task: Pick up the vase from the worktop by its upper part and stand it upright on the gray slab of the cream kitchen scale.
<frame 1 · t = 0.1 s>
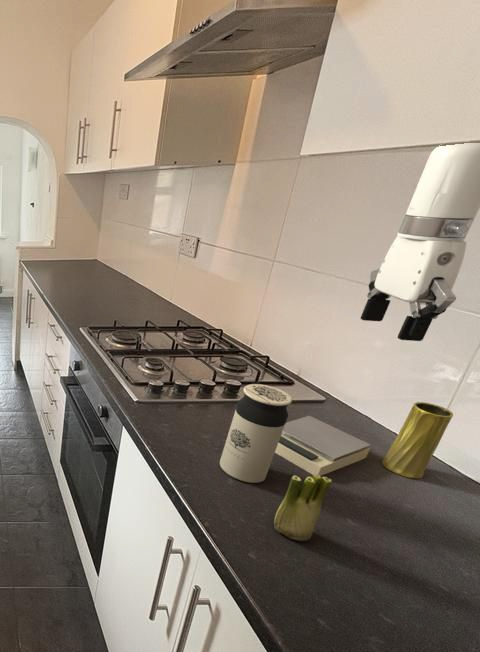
hand: (388, 329, 72), 30 cm above the worktop, tool pointing down, fingers open, 9 cm apart
vase: (401, 469, 84), on the worktop
fennel bulb: (289, 533, 70), on the worktop
travel mug: (241, 471, 84), on the worktop
gray slab: (320, 436, 89), point 3 cm above the worktop, slide at 0.0 cm
scale: (310, 450, 90), on the worktop
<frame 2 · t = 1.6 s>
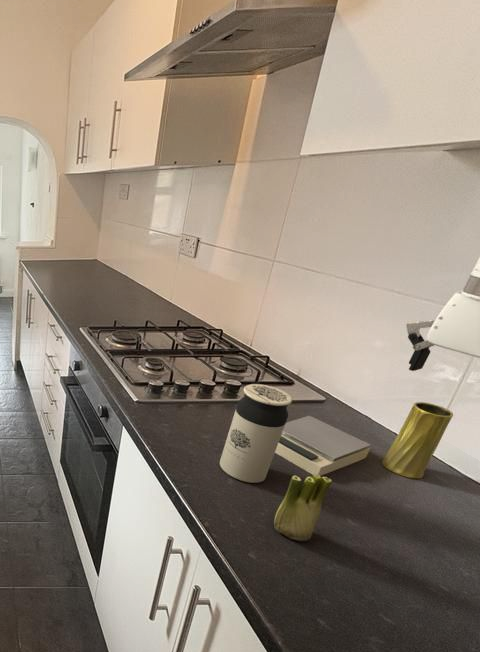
hand: (448, 380, 76), 20 cm above the worktop, tool pointing down, fingers open, 9 cm apart
nothing on the worktop moved.
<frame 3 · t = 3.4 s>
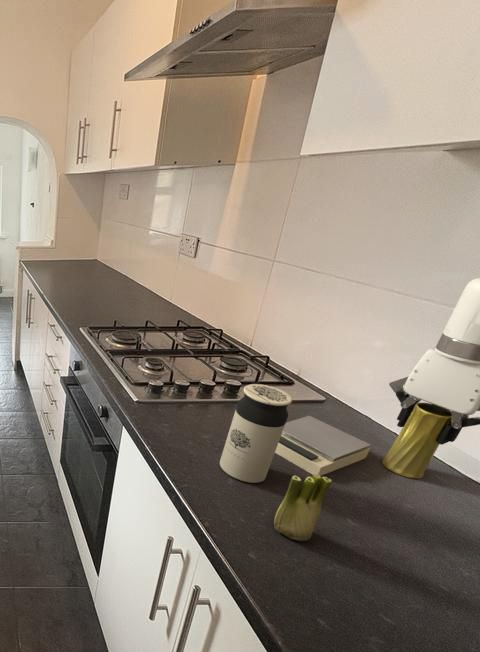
hand: (422, 432, 81), 9 cm above the worktop, tool pointing down, fingers closed on vase, 5 cm apart
vase: (401, 469, 84), on the worktop, touching gripper
everything else where it was.
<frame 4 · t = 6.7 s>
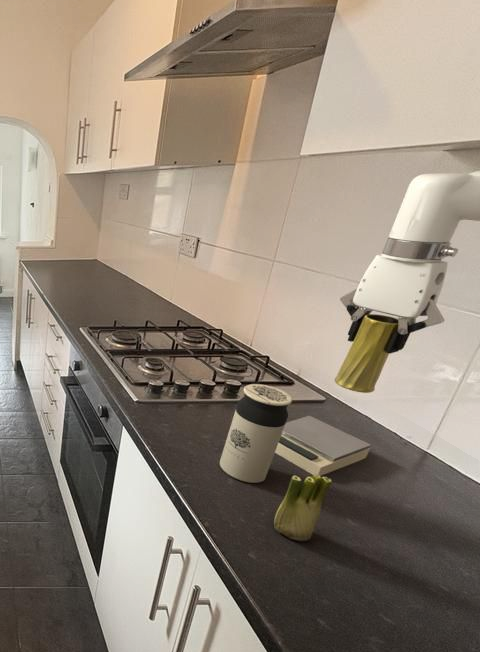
hand: (372, 345, 79), 25 cm above the worktop, tool pointing down, fingers closed on vase, 5 cm apart
vase: (353, 386, 83), point 16 cm above the worktop, touching gripper
everything else where it was.
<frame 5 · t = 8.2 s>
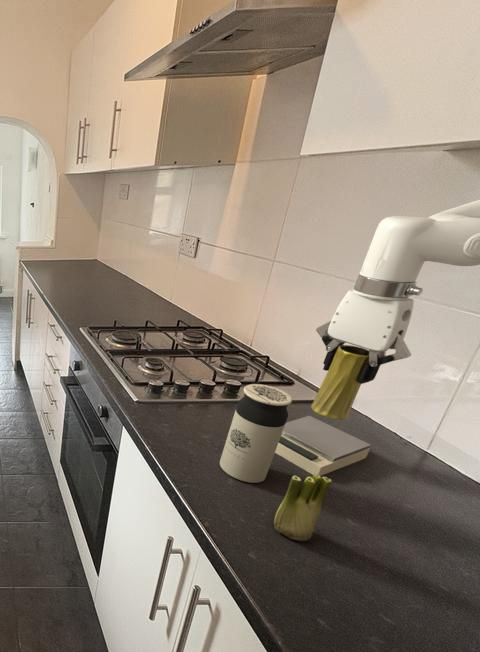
hand: (346, 374, 83), 18 cm above the worktop, tool pointing down, fingers closed on vase, 5 cm apart
vase: (328, 413, 87), point 9 cm above the worktop, touching gripper
everything else where it was.
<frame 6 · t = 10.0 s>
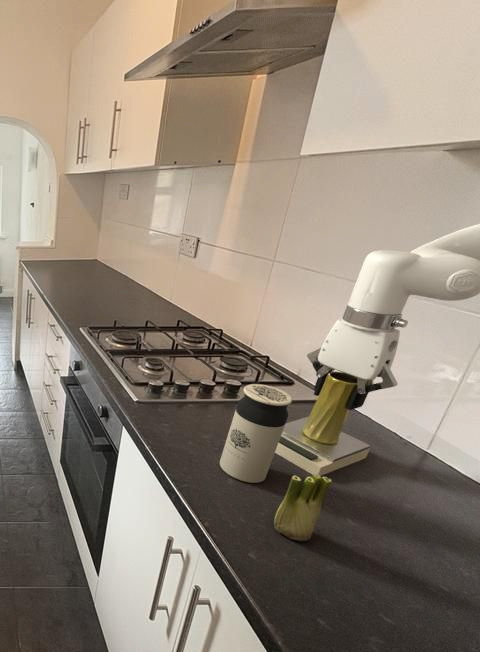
hand: (335, 400, 85), 12 cm above the worktop, tool pointing down, fingers closed on vase, 5 cm apart
vase: (319, 436, 89), point 3 cm above the worktop, touching gripper, gray slab
gray slab: (319, 437, 89), point 3 cm above the worktop, slide at -0.2 cm, touching vase
everything else where it was.
when the fingers open (12 cm above the worktop, at t = 10.0 s): vase stays where it is, resting on gray slab.
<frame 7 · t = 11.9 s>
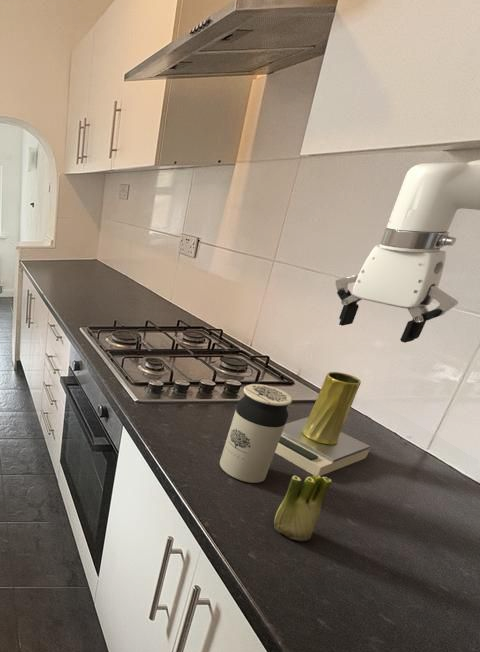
hand: (374, 332, 79), 28 cm above the worktop, tool pointing down, fingers open, 9 cm apart
vase: (319, 437, 89), point 3 cm above the worktop, touching gray slab
gray slab: (319, 438, 89), point 3 cm above the worktop, slide at -0.3 cm, touching scale, vase
everything else where it was.
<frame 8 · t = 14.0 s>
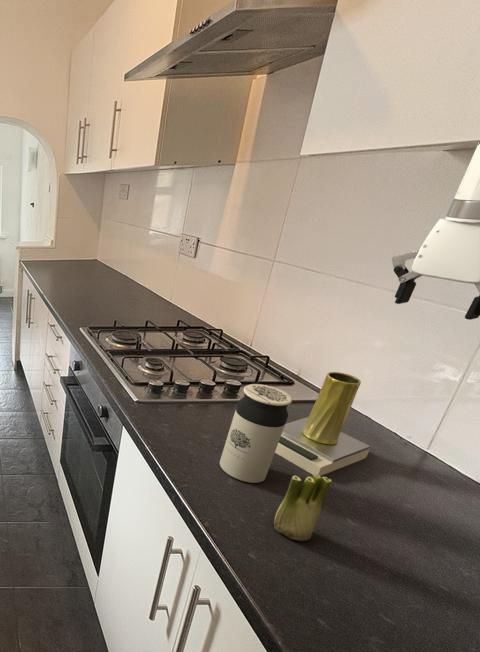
hand: (434, 310, 76), 32 cm above the worktop, tool pointing down, fingers open, 9 cm apart
nothing on the worktop moved.
at the end: vase inside the target area on the scale (0.2 cm from its centre), point 3.1 cm above the scale's base; vase tilted 0°; vase touching gray slab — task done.
